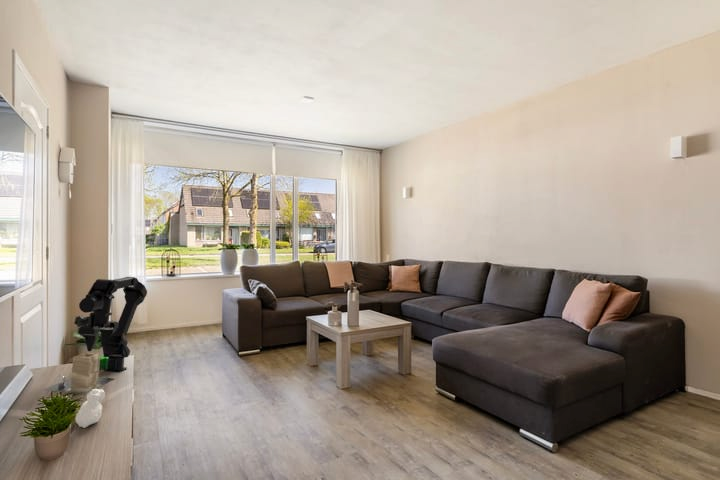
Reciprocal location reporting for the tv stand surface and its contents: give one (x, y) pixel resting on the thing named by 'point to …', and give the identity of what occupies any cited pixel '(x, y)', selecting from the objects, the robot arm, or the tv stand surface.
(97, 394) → the bust
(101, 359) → the green block
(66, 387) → the peg plate
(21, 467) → the tv stand surface
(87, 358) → the sleeve
